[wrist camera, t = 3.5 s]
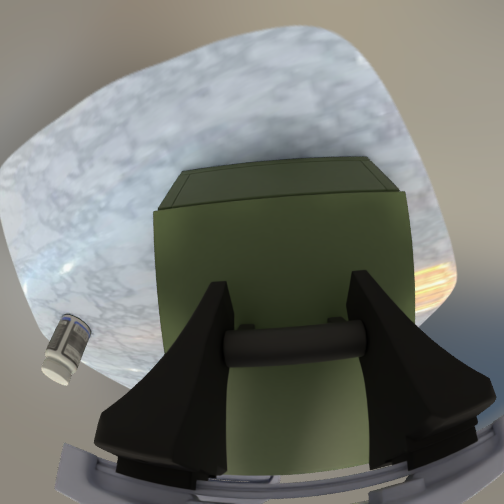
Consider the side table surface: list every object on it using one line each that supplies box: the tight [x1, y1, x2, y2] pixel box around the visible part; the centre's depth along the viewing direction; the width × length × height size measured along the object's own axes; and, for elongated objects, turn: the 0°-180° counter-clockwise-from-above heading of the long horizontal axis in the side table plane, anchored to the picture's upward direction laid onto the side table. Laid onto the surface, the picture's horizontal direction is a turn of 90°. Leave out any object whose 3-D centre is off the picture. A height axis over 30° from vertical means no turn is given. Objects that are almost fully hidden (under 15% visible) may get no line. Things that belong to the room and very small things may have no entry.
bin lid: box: [153, 191, 415, 476], centre depth 11 cm, size 15×13×4 cm
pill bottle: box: [41, 315, 91, 385], centre depth 27 cm, size 5×5×8 cm
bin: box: [158, 157, 400, 210], centre depth 19 cm, size 15×13×5 cm
